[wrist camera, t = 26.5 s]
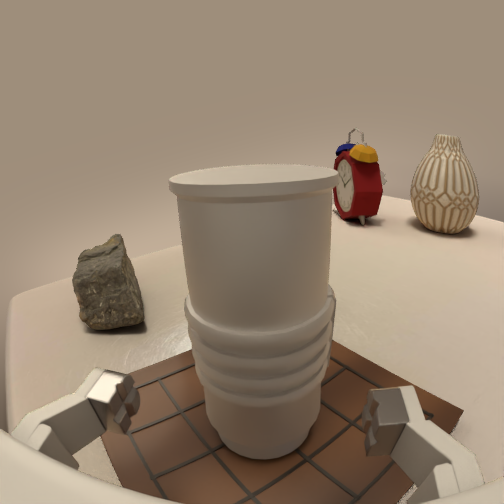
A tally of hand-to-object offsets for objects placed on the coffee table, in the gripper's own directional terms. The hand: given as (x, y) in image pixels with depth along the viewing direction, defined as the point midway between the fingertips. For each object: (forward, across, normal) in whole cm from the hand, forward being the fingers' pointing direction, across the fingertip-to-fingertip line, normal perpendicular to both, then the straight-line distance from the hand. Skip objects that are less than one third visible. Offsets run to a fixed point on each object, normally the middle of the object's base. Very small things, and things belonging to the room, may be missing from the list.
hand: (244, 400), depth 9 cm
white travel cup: (+6, 0, +9) cm, 10 cm away
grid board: (+6, 0, +10) cm, 11 cm away
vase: (+54, -34, +10) cm, 64 cm away
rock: (+21, +20, +10) cm, 31 cm away
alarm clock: (+60, -16, +10) cm, 63 cm away
